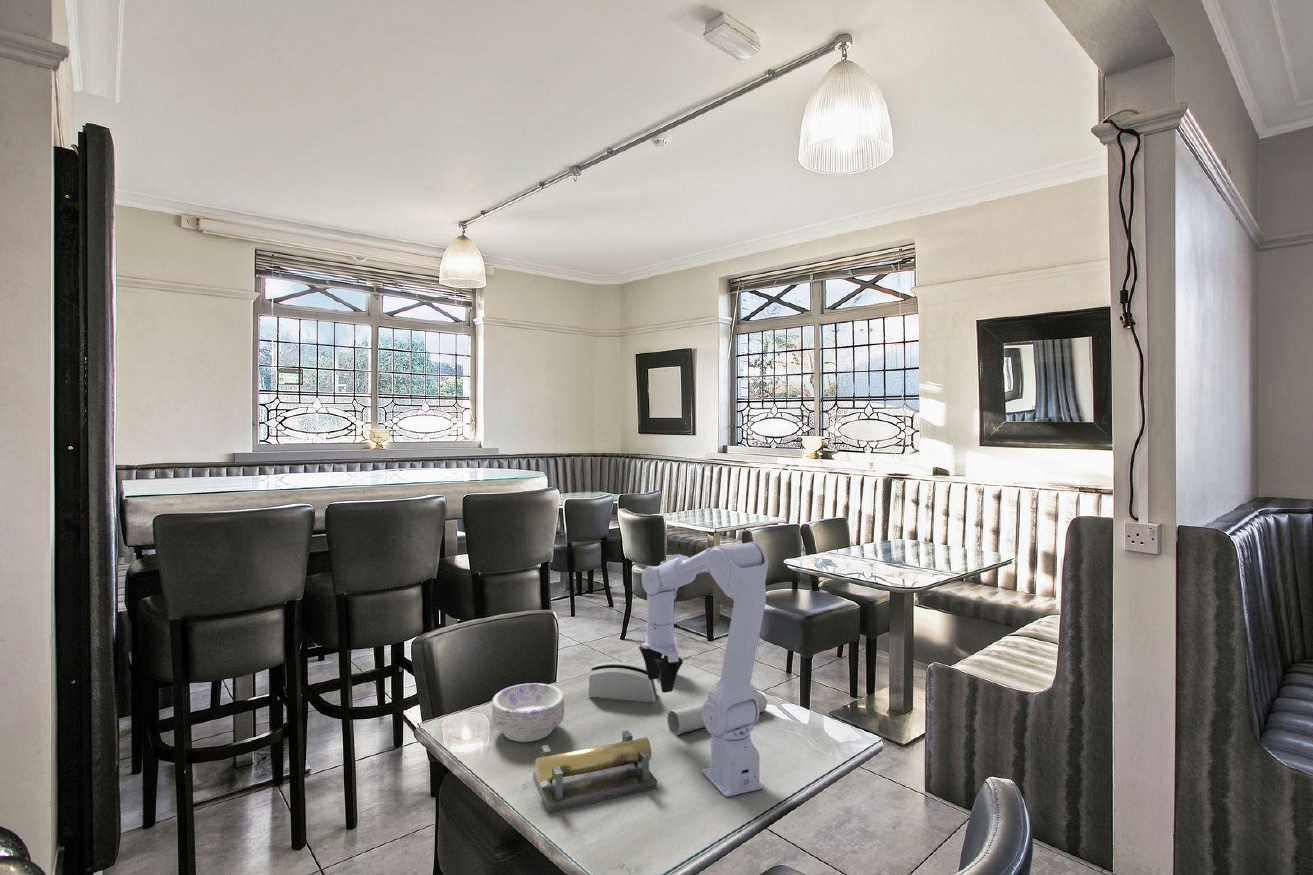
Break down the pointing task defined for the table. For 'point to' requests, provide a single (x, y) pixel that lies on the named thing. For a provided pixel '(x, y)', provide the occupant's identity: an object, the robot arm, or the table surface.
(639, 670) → the white rounded block
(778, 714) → the table surface
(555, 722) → the paper bowls
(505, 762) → the table surface
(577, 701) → the table surface
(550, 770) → the brass pin
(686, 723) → the tube
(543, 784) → the corner post stand
